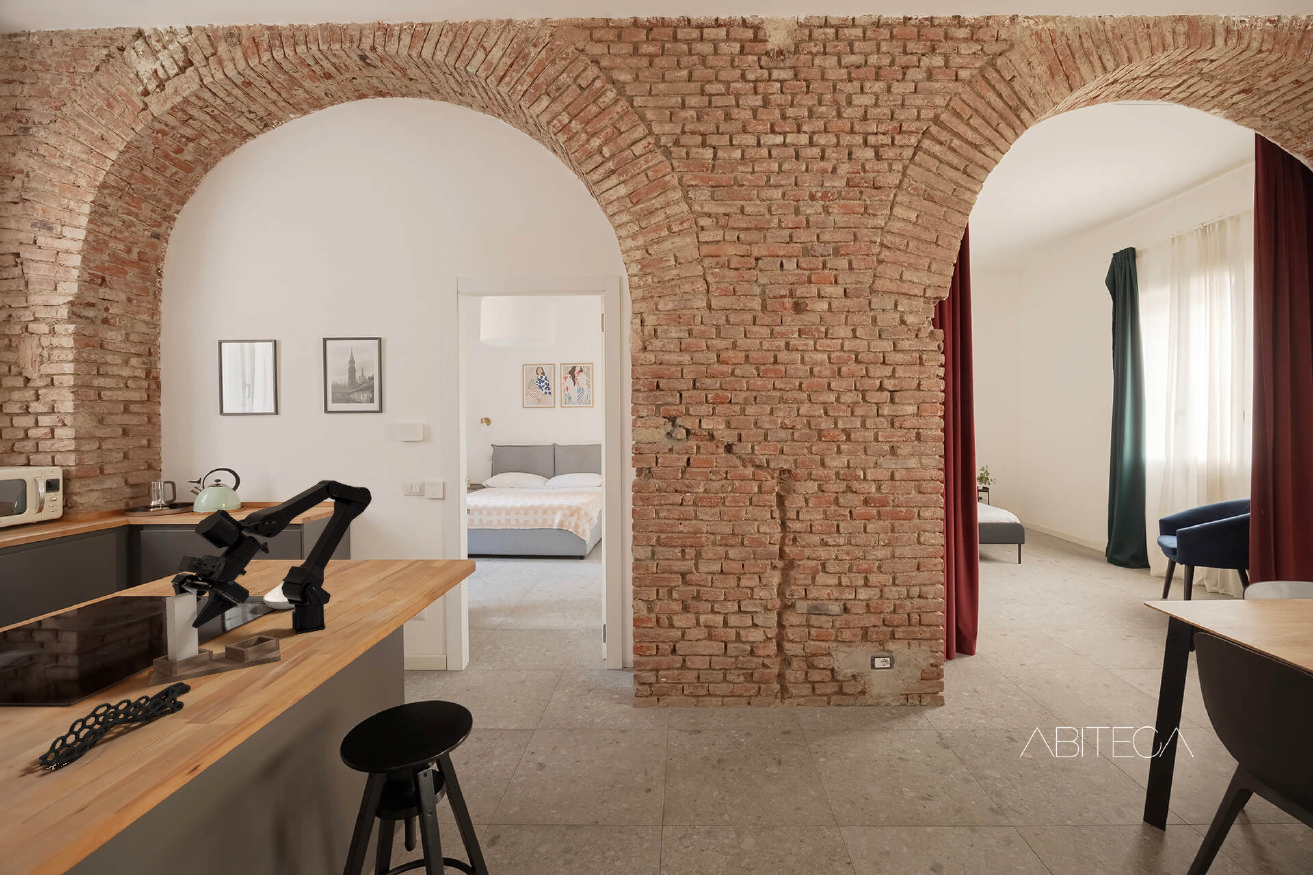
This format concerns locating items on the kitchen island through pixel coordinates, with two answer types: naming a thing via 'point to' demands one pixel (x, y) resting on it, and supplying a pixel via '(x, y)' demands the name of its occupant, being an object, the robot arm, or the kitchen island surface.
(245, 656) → the double compartment tray
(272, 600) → the spoon rest
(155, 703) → the decorative element
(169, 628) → the beige rectangular block
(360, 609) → the kitchen island surface
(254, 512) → the robot arm
